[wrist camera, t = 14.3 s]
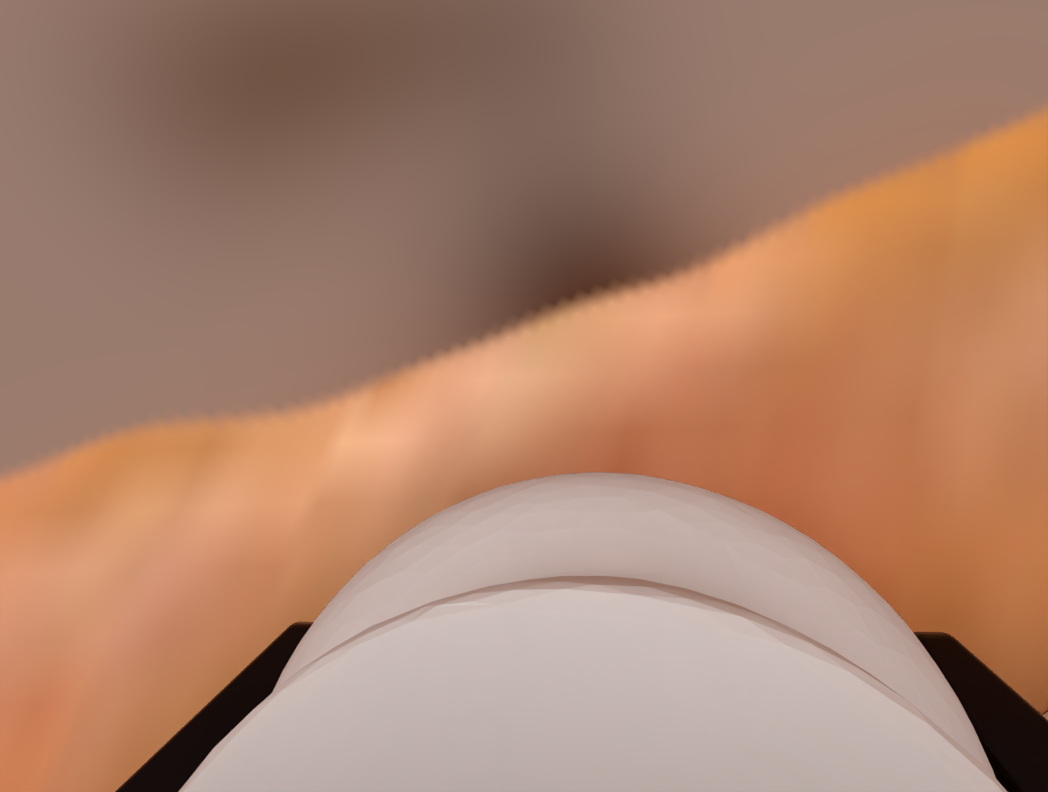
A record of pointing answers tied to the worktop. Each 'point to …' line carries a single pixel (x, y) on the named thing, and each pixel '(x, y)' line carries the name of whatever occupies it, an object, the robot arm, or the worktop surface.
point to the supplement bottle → (604, 661)
